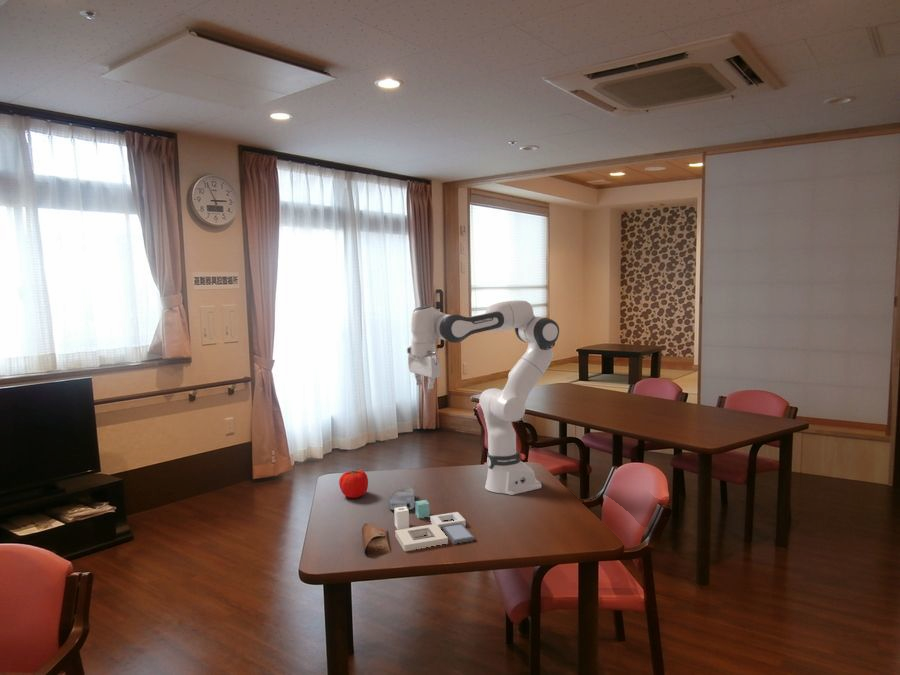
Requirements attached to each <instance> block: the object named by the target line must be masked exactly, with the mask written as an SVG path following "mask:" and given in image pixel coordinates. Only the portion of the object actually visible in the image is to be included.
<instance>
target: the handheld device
mask: <svg viewBox="0 0 900 675" xmlns="http://www.w3.org/2000/svg"><path fill="white" fill-rule="evenodd" d="M415 496H416V495H415V491H414V489H413V488H412V487H410V486H407V487H406V486H402V487H399V488H398V487H397V488H396V489H395V490H394V491H393V493H392V494H391V495H389V496H388V508H389V510H390V511H394V508H398V507H404V506H406V507H407V509H408V510H413V509H415V501H416V500H415Z"/></svg>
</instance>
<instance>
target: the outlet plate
mask: <svg viewBox="0 0 900 675" xmlns="http://www.w3.org/2000/svg"><path fill="white" fill-rule="evenodd" d="M394 534H395V535H394V536H395V538H396V540H397V542H398V543H399V545H400V546H401V548H402V550H403V551H404V552H410V551H416V549H417V550H421V548H422V549H427V548H426V547H428V548H432V547H431V546H434V547H437V546H436V545H440V546H443V545H442V544H446V545H449V538H448V537H447V536H446V535H445V533H444V532H443V531H442V530H441V529H440V528H439V526H438V525H437V524H432V523H431V524H427V525H420V526H413V527H409V528H404V529H395V530H394ZM424 535H426V536H424Z"/></svg>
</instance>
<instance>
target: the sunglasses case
mask: <svg viewBox="0 0 900 675" xmlns="http://www.w3.org/2000/svg"><path fill="white" fill-rule="evenodd" d="M361 534H362V543H363V544H362V545H363V551H364V552H363V553H364V555H366V557H367V556H368V557H369V556H375V555H385V554H390V553H391V552H392V550H391V547H390V544H389V538H388V529H385V528H383V527H377V526H375V525H372V524H370V523H364V524H363V525H362V528H361Z"/></svg>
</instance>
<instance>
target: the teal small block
mask: <svg viewBox="0 0 900 675" xmlns="http://www.w3.org/2000/svg"><path fill="white" fill-rule="evenodd" d="M414 509H415V516H416V515H417V516H416V517H417V519H418V518H422V519H425V518H424V517H428V518H430V516H431V514H430V513H431V512H430V511H431V510H430V503H429V501H428V500H427V499H423V500H415V506H414Z"/></svg>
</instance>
